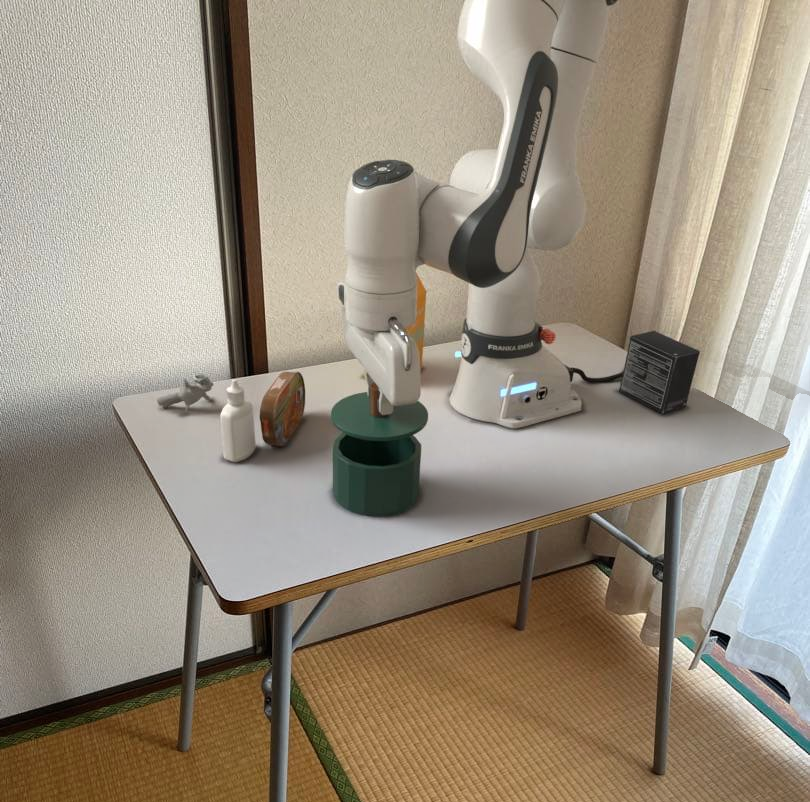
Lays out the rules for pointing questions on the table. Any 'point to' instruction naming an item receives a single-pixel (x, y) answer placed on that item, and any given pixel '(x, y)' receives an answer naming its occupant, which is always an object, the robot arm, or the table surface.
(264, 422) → the tin
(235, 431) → the eye dropper bottle
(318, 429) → the table surface
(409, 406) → the lid
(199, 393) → the grey creature figurine
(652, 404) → the small box
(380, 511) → the pot
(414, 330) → the orange juice
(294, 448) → the table surface
